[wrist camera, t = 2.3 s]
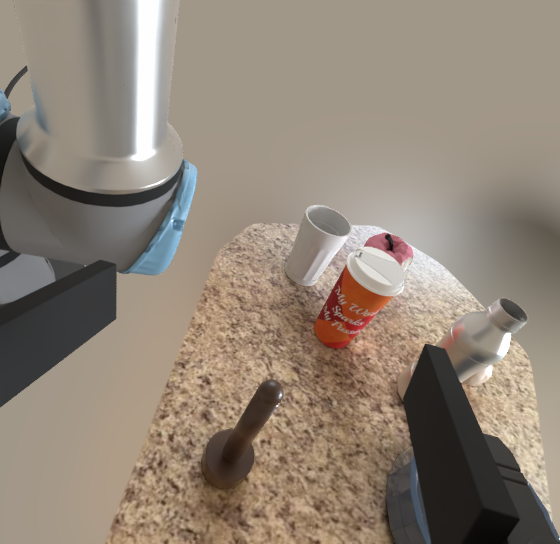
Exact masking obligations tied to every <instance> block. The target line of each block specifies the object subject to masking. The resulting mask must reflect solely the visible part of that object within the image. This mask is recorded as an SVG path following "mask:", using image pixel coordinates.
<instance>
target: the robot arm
mask: <svg viewBox="0 0 560 544" xmlns="http://www.w3.org/2000/svg"><path fill="white" fill-rule="evenodd" d="M13 2H14V7H15V12H16V16H17V21H18V26H19V30H20V35H21V40H22V45H23V50H24V54H25V59H26V64H27V66H26V67H24V68H23V69H22V70H21V71H20V72H19V73H18V74H17V75H16V76H15V77H14V78H13V80H12V81H11V82H10V84H9V85H8V87H7V88H6V90H5V92H3V91H2V90H1V89H0V407H1V406H3V405H4V404H5V403H7V402H8V401H9V400H11V399H12V398H13V397H14V396H16V395H17V394H18V393H20V392H21V391H22V390H24V389H25V388H26V387H28V386H29V385H30V384H31V383H33V382H34V381H35V380H37V379H38V378H39V377H40V376H42V375H43V374H45V373H46V372H47V371H49V370H50V369H51V368H52V367H54V366H55V365H56V364H58V363H59V362H60V361H62V360H63V359H64V358H66V357H67V356H68V355H69V354H71V353H72V352H73V351H75V350H76V349H77V348H79V347H80V346H81V345H83V344H84V343H85V342H86V341H88V340H89V339H90V338H92V337H93V336H94V335H96V334H97V333H98V332H99V331H101V330H102V329H103V328H105V327H106V326H107V325H108V324H110V323H111V322H113V321H114V320H115V319H116V271H117V272H119V273H122V274H128V273H137V274H144V275H157V274H160V273H162V272H163V271H165V270H166V269H167V268H168V266H169V265H170V263H171V261H172V259H173V257H174V254H175V251H176V249H177V246H178V244H179V241H180V238H181V235H182V231H183V225H184V224H185V221H186V218H187V215H188V212H189V209H190V205H191V201H192V198H193V194H194V189H195V185H196V179H197V169H196V167H195V166H194V165H193V164H190V163H188V162H187V160H185V159H183V147H182V142H181V140H180V138H179V136H178V134H177V133H176V131H175V130H174V128H173V127H172V126H171V125H170V124H169V123H168V122H167V119H168V109H169V99H170V88H171V79H172V69H173V60H174V49H175V40H176V29H177V20H178V9H179V0H13ZM27 71H28V73H29V78H30V83H31V88H32V92H33V97H34V102H35V104H34V105H32V106H31V107H30V108H28V109H27V110H26V111H25V112H24V114H23V115H22V116H21V117H18V116H14V115H12V114H11V113H10V112H9V111H10V110H11V105H10V102H9V100H7V99H8V96H9V94H10V92H11V90H12V88H13V87H14V85H15V84H16V83H17V81H18V80H19V79H20V78H21V77H22V76H23V74H25V73H26V72H27ZM47 258H50V259H55V260H60V261H65V262H70V263H76V264H81V265H86V267H84V268H82V269H80V270H78V271H76V272H73V273H71V274H69V275H67V276H65V277H63V278H61V279H59V280H57V281H56V279H55V273H54V270H53V268H52V266H51V264H50V262H49V261H48V259H47ZM403 401H404V406H405V411H406V416H407V421H408V426H409V432H410V437H411V442H412V447H413V452H414V457H415V462H416V468H417V473H418V478H419V483H420V488H421V493H422V498H423V504H424V509H425V514H426V519H427V524H428V529H429V534H430V539H431V544H560V542H559V541H558V540H556V538H555V536H554V535H553V533H552V531H551V529H550V527H549V525H548V523H547V521H546V519H545V517H544V515H543V513H542V511H541V509H540V507H539V505H538V503H537V501H536V499H535V497H534V495H533V493H532V491H531V489H530V487H528V486H527V484H528V483H527V481H526V479H525V477H524V475H523V473H521V472H520V471H521V470H520V468H519V466H518V464H517V462H516V460H515V458H514V456H513V454H512V453H511V451H510V450H509V449H508V448H507V447H506V446H505V445H504V444H503V442H502V441H501V440H500V439H499V438H498V437H494V436H491V435H487V434H484V433H482V431H481V428H480V426H479V424H478V422H477V419H476V417H475V415H474V413H473V410H472V408H471V406H470V404H469V401H468V399H467V397H466V394H465V392H464V390H463V388H462V385H461V383H460V381H459V379H458V376H457V374H456V372H455V370H454V367H453V365H452V363H451V361H450V358H449V356H448V354H447V351H446V349H444V348H441V347H437V346H433V345H429V344H425V346H424V348H423V350H422V353H421V355H420V358H419V360H418V363H417V365H416V368H415V370H414V372H413V375H412V377H411V380H410V382H409V385H408V387H407V390H406V392H405V394H404V397H403Z"/></svg>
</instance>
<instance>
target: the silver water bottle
mask: <svg viewBox="0 0 560 544" xmlns="http://www.w3.org/2000/svg"><path fill="white" fill-rule="evenodd" d="M527 322H528V316H527V314H526V312H525V311H524V310H523V309H522V307H520V306H519V305H518V304H517V303H515V302H514V301H512V300H510V299H508V298H504V297H501V298H499V299H498V300H497V301H496V302H495V303H493V304H491V305H490V306H489V307H487V311H480V312H471V313H467V314H465V315H462V316H460V317H459V318H458V319H457V320H456V321H455V322H454V324H453V325H452V326H451V328H450V329H449V330H448V332H447V333H446V334H445V336H444V337H443V338H442V339H441V340H440V341H439V342H438V343H437V345H436V346H437V347H441V348H444V349H446V351H447V354H448V356H449V358H450V361H451V363H452V365H453V367H454V370H455V372H456V374H457V376H458V379H459V381H460V383H462V382H463V381H465V380H466V379H468V378H469V377H471V376H472V375H474V374H475V373H477V372H479V371H481V370H483V369H485V368H487V367H489V366H491V365H493V364H495V363H497V362H498V361H500V360H501V359H503V357H504V356H505V354H506V353H507V351H508V348H509V344H510V336H511V333H516V332H517V331H518V330H519V329H520V328H521V327H522V326H523V325H525V324H526V323H527ZM417 363H418V361H415V362H413V363H412V364H410V365H409V366H407V367H406V368H404V369H403V371H402V372H401V374H400V375H399V377H398V380H397V388H398V393H399V395H400V397H401V399H402V400H403V397H404V394H405V392H406V390H407V387H408V385H409V382H410V380H411V377H412V375H413V372H414V370H415V368H416V365H417Z"/></svg>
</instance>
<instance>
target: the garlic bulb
mask: <svg viewBox="0 0 560 544" xmlns="http://www.w3.org/2000/svg"><path fill="white" fill-rule="evenodd" d="M491 374H492V365H491V366H489V367H487V368H485V369H483V370H481V371H479V372H477V373H475V374H474V375H472V376H471V377H469V378H468V379H466V380H465V381H463V382H462V383H464V384H468V385H470V386H476V385H480V384H482V383H484V382H486V381H487V380H488V379H489V378H490V377H491Z"/></svg>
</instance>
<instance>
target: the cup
mask: <svg viewBox="0 0 560 544" xmlns="http://www.w3.org/2000/svg"><path fill="white" fill-rule="evenodd" d="M351 233H352V226H351V224H350V222H349V221H348V220H347V218H346V217H344V216H343V215H342V214H341V213H339V212H338V211H336V210H334V209H331V208H329V207H326V206H321V205H312V206H310V207H308V208H307V210H306V212H305V214H304V218H303V220H302V223H301V226H300V229H299V232H298V234H297V237H296V240H295V242H294V245H293V248H292V251H291V253H290V256H289V259H288V261H287V263H286V265H285V272H286V274H287V276H288V277H289V278H290V279H291V280H292V281H293V282H295V283H297V284H299V285H302V286H312V285H314V284H315V283H316V282H317V280H318V279H319V277H320V275H321V274H322V273H323V271H324V270H325V268H326V267H327V266H328V264H329V263H330V261H331V260H332V259H333V257H334V256H335V254H336V253H337V252H338V250H339V249H340V248H341V246H342V245H343V244H344V242H345V241H346V240H347V238H348V237H349V236H350V234H351Z"/></svg>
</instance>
